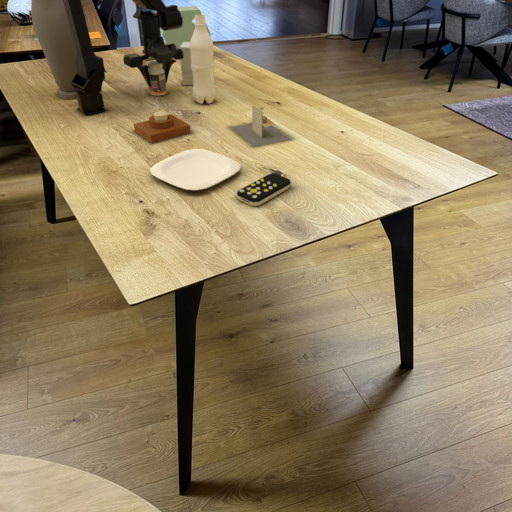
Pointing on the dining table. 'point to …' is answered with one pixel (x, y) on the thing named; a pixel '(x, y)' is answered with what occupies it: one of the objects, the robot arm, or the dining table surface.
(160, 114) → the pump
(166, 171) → the plate
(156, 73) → the pill bottle
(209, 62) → the water bottle
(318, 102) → the dining table surface
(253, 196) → the remote control
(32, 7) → the vase
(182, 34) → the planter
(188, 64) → the light grey tall block
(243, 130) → the architectural model
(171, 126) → the base
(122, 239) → the dining table surface
